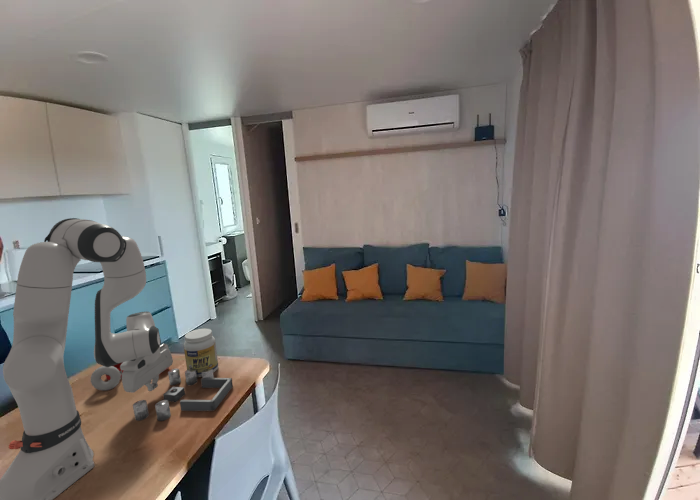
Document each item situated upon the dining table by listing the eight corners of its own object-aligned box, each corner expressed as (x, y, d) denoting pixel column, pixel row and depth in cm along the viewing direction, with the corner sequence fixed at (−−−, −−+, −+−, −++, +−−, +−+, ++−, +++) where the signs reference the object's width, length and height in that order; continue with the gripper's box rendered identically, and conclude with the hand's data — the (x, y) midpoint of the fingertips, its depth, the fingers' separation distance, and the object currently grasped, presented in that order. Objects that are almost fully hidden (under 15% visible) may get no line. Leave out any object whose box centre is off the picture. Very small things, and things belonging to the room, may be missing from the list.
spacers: (180, 421, 115) (178, 407, 115) (129, 420, 117) (127, 407, 116) (216, 379, 140) (214, 368, 139) (173, 379, 142) (171, 368, 141)
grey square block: (176, 402, 126) (175, 394, 126) (164, 401, 127) (163, 393, 127) (185, 394, 131) (184, 387, 131) (173, 393, 132) (172, 386, 132)
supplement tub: (186, 381, 140) (180, 341, 137) (189, 367, 152) (183, 330, 148) (218, 374, 144) (213, 335, 141) (219, 361, 155) (214, 325, 152)
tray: (214, 411, 120) (212, 401, 119) (181, 410, 121) (179, 401, 121) (232, 386, 135) (231, 378, 134) (203, 386, 136) (202, 378, 135)
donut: (123, 384, 141) (119, 361, 139) (121, 389, 137) (116, 365, 136) (94, 390, 138) (90, 366, 136) (91, 395, 134) (86, 371, 133)
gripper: (159, 341, 138) (166, 373, 141) (115, 368, 118) (123, 405, 121) (173, 341, 137) (179, 374, 139) (131, 369, 117) (138, 406, 120)
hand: (153, 388), depth 130 cm, fingers closed
